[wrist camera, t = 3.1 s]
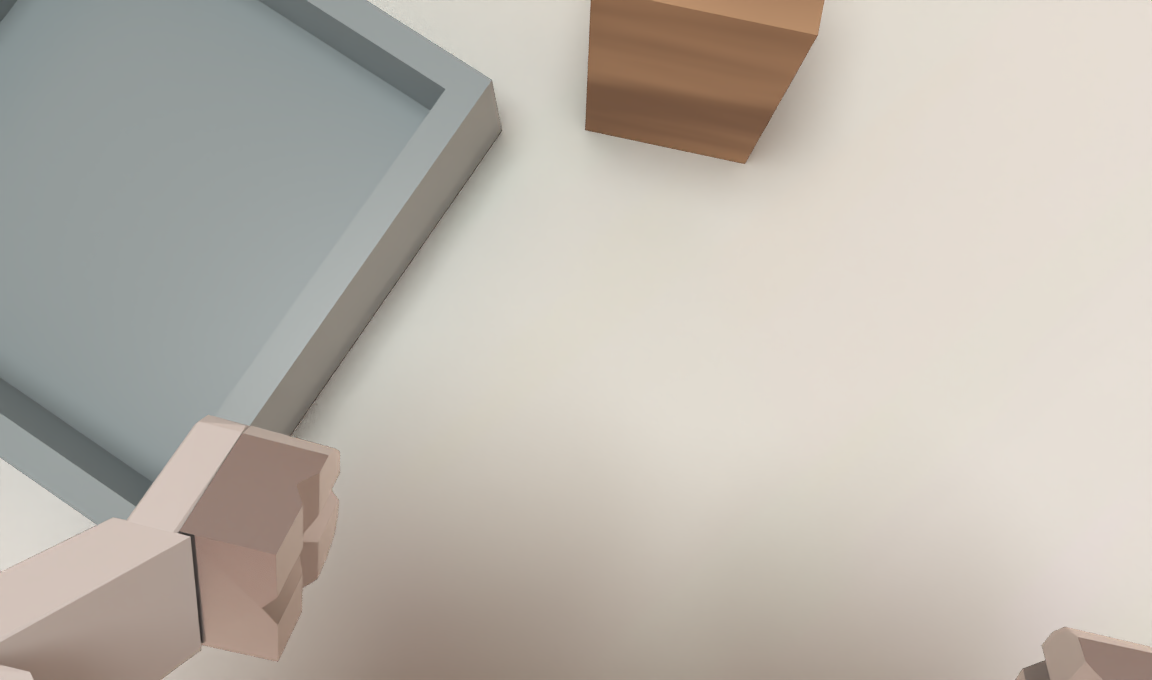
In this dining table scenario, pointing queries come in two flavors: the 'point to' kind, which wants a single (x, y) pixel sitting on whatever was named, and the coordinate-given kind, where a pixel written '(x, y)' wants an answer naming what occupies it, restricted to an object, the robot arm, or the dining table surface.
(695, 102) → the walnut block
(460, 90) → the tray
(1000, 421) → the dining table surface
